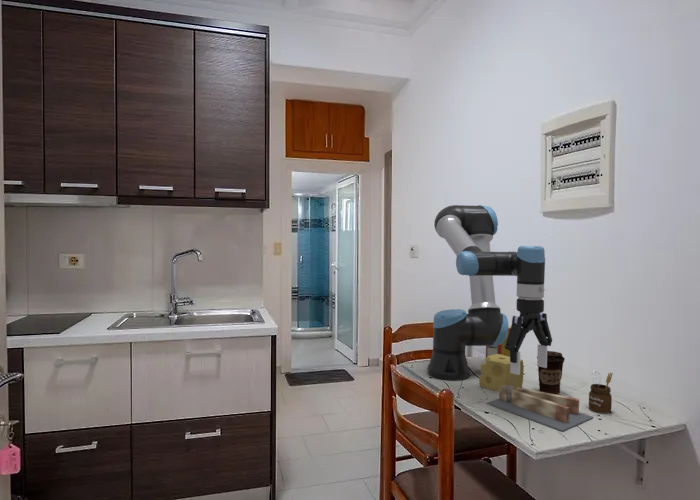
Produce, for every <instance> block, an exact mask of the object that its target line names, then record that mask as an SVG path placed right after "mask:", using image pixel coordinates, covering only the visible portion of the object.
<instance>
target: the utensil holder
mask: <svg viewBox="0 0 700 500" xmlns="http://www.w3.org/2000/svg"><path fill="white" fill-rule="evenodd" d="M596 373H598V375H600V373H599V372H598V371H597V370H593V371H592V374H594V375H597V374H596ZM613 374H614V373H613V372H608V374H607V377H606V381H605V383H606V385H605V384H602V383H601V381H599V382H598V380H597V377H595V379H594V378H592V382H595V380H596V383H592V384H591V385H590V391H589V392H588V408H589V410H591V411H592V412H595V413H599V414H610V413H611V412H612V400H613V398H612V394H611V387H610V386H609V385H610V384H611V381H612V377H613ZM598 379H599V380H601V379H602V377H601V376H599V377H598Z"/></svg>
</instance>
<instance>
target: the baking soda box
mask: <svg viewBox="0 0 700 500" xmlns="http://www.w3.org/2000/svg"><path fill="white" fill-rule="evenodd" d="M510 328H511V326H509V325H508V334H507V337H506V339H505V341H504V342H503V343H502V344H501V345H493V346H485V358H486V357H488V356H490V355H494V354H501V355H504V356H508V357H510V350H507V349H505V345H506V341H507V338H508V335H509V332H510Z"/></svg>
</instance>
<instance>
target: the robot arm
mask: <svg viewBox="0 0 700 500" xmlns="http://www.w3.org/2000/svg"><path fill="white" fill-rule="evenodd" d="M498 221H499V220H498V217H497V213H496V212H495V209H494V208H492V207H491V206H487V205H467V204H466V205H464V204H463V205H462V204H461V205H459V204H454V205H453V204H452V205H449V206H446V207H444V208H442V209H441V210H440V211H439V212H438V213H437V214H436V216H435V219H434V230H435V232H436V233H437V235H438V236H439V237H440V238H442V239H444V240H445V241H446V243H447V244H448V246H449V247H450V248H451V250H452V251H453V253H454V254H455V256H456V258H455V267H456V270H457V273H458V275H461V276H468V277H469V287H470V299H471V301H470V302H471V306H469V308H468V309H467V311H466V310H464V309H459V308H458V309H446V310H445V309H444V310H441V311H438V312H436V313H435V314H434V316H433V323H432V329H433V331H432V354H431V356H430V359H429V363H428V366H427V374H428V375H429V376H431V377H433V378H436V379H440V380H444V381H445V380H446V381H461V380H466V379H468V378H470V377H471V376H470V375H471V374H470V373H471V369H470V367H469V364H468V360H467V359H468V358H467V357H466V347H473V346H474V347H477V346H478V347H484V346H485V347H486V346H493V345H501V344H502V343H503V342H504V341H505V339H506V337H507V334H508V326H509V320H508V317H507V315H506V314H504V313H502V312H501V307H500V306H498V304H497V303H496V295H495V293H496V292H495V286H494V285H495V284H494V283H495V282H494V277H495V276H496V277H497V276H498V277H500V276H501V277H502V276H504V277H505V276H507V277H510V276H511V277H512V276H513V277H516V297H518V298H517V299H516V310H517V311H518V312H519V315H513V316H512V318H511V326H510V327H511V328H510V332H509V335H508V338H507V341H506V345H505V349H507V350H510V373H513V374H516V375H520V359H521V351H519V350H520V349H521V346H522V345H523V342H524V340H525V339H526V336H527V334H528V333H530V332H531V331H532V332H533V333H534V336H535V337H536V339H537V341H538V343H539V344H537V354H536V355H537V356H536V358H537V362H536V363H537V364H536V366H537V367H538V366H539V367H543V368H547V351H548V347H551V346H552V342H553V338H552V337H553V336H552V334H551V330H550V326H549V324H548V315H547V313H544V311H545V300H544V298H545V291H546V289H545V274H546V273H545V269H546V256H545V254H546V252H545V251H546V250H545V248H544V247H543V246H540V245H538V246H537V245H520V246H518V247H517V251H491V242H492V240H493V239H494V235H496V234H497V232H498V226H499V222H498Z"/></svg>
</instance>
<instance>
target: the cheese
mask: <svg viewBox="0 0 700 500" xmlns="http://www.w3.org/2000/svg"><path fill="white" fill-rule="evenodd" d="M479 371H480V372H481V374H480V375H479V380H478V381H479V382H478V384H479V387H481V388H486V389H489V390H492V391H496V392H497V391H498V392H497V393H499V387H500V386H503V385H510V386H513V387H514V390H516V389H517V388H518V387H519V388H523V385H524V360H523V359H521V358H520V375H516V374H513V373H510V357H508V356H504V355H501V354H494V355H490V356H488V357H486V356H485V361H484V363H481V365H480V370H479Z"/></svg>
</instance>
